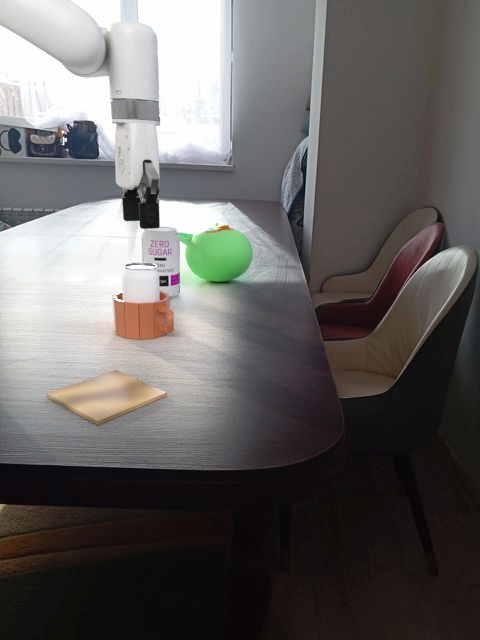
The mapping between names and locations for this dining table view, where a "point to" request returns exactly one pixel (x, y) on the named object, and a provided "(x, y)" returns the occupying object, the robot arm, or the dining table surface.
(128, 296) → the can
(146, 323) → the mug
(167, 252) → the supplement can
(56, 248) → the dining table surface
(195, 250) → the green teapot
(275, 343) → the dining table surface
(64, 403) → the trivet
